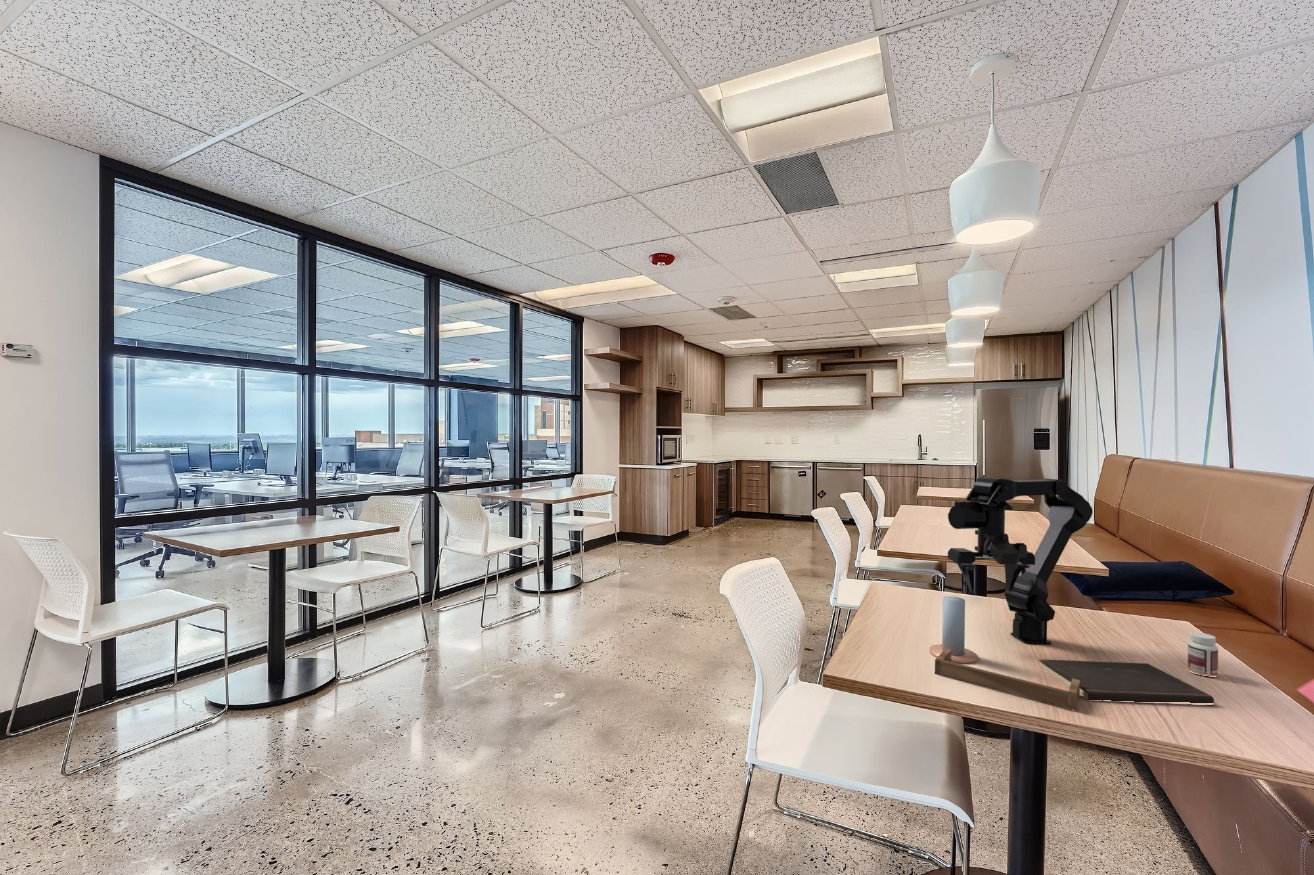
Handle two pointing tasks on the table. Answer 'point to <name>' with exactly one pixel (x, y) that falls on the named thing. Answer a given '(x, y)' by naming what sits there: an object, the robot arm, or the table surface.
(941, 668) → the walnut rack
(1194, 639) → the pill bottle
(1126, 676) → the hardcover book
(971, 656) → the terracotta coaster
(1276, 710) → the table surface
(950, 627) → the blue canister
